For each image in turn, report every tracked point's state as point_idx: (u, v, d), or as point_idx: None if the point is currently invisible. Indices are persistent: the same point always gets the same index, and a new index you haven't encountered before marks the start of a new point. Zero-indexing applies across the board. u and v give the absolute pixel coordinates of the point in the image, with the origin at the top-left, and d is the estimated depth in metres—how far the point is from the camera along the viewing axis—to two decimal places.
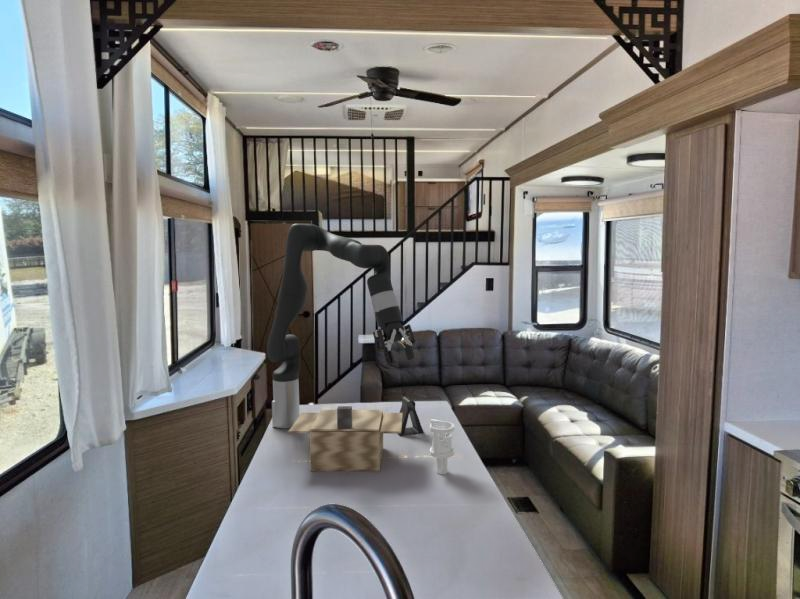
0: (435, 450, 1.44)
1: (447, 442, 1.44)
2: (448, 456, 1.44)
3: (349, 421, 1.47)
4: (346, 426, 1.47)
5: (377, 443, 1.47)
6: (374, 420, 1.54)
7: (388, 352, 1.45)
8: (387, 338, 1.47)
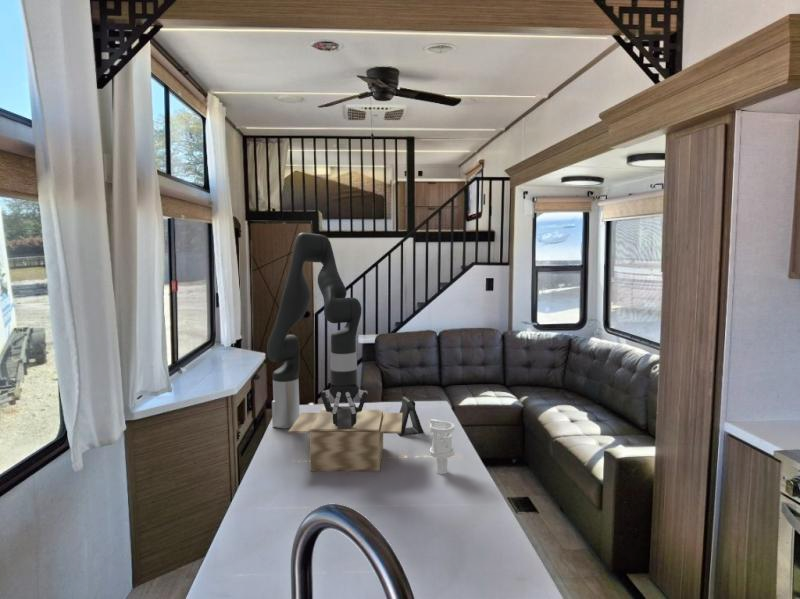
0: (435, 450, 1.44)
1: (447, 442, 1.44)
2: (449, 456, 1.44)
3: (349, 421, 1.47)
4: (346, 426, 1.47)
5: (377, 443, 1.47)
6: (374, 420, 1.54)
7: (334, 414, 1.47)
8: None
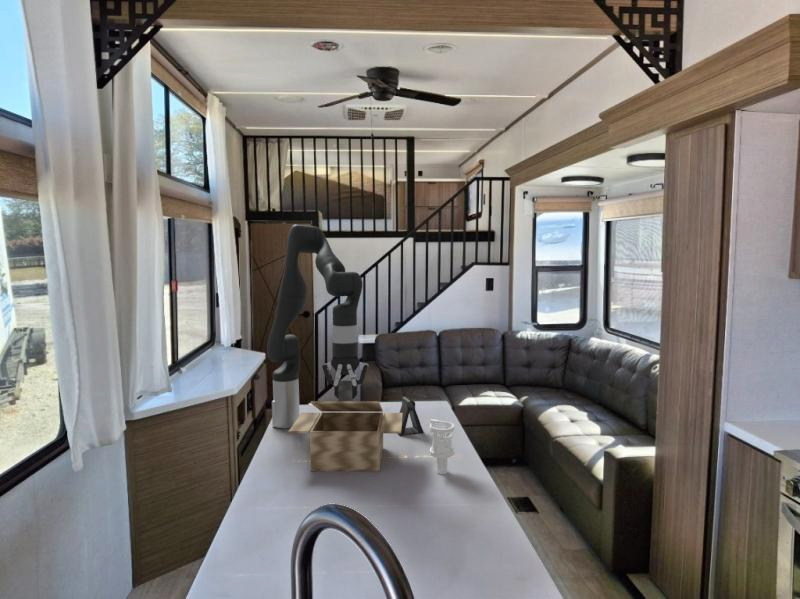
0: (435, 450, 1.44)
1: (447, 442, 1.44)
2: (449, 456, 1.44)
3: (350, 393, 1.49)
4: (347, 398, 1.48)
5: (377, 443, 1.47)
6: None
7: (335, 387, 1.50)
8: None
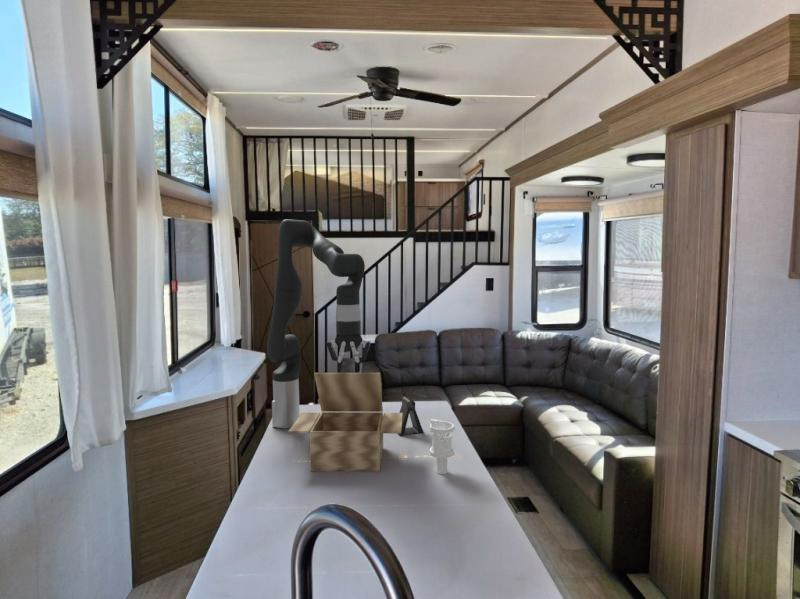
0: (435, 450, 1.44)
1: (447, 442, 1.44)
2: (449, 456, 1.44)
3: (353, 367, 1.55)
4: (349, 370, 1.54)
5: (377, 443, 1.47)
6: None
7: (339, 363, 1.57)
8: None
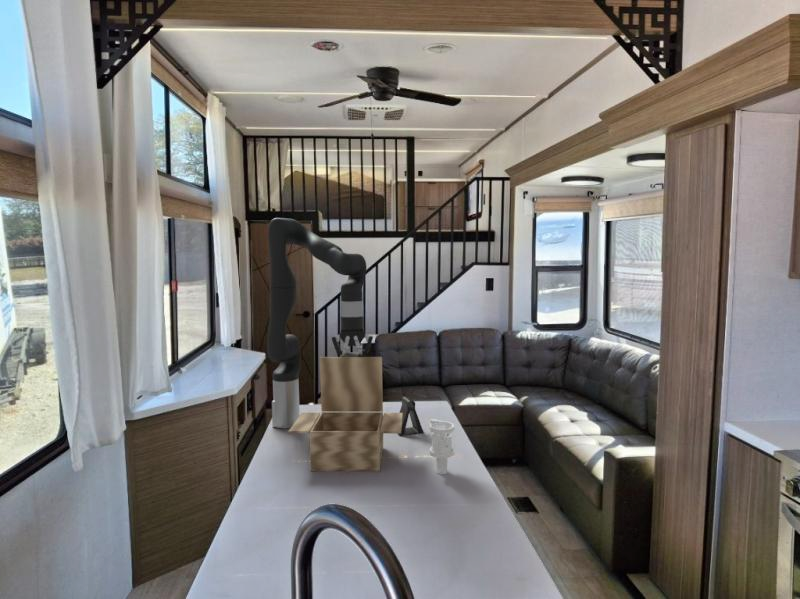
0: (435, 450, 1.44)
1: (447, 442, 1.44)
2: (448, 456, 1.44)
3: (356, 355, 1.65)
4: (353, 356, 1.63)
5: (377, 443, 1.47)
6: None
7: (343, 356, 1.67)
8: None
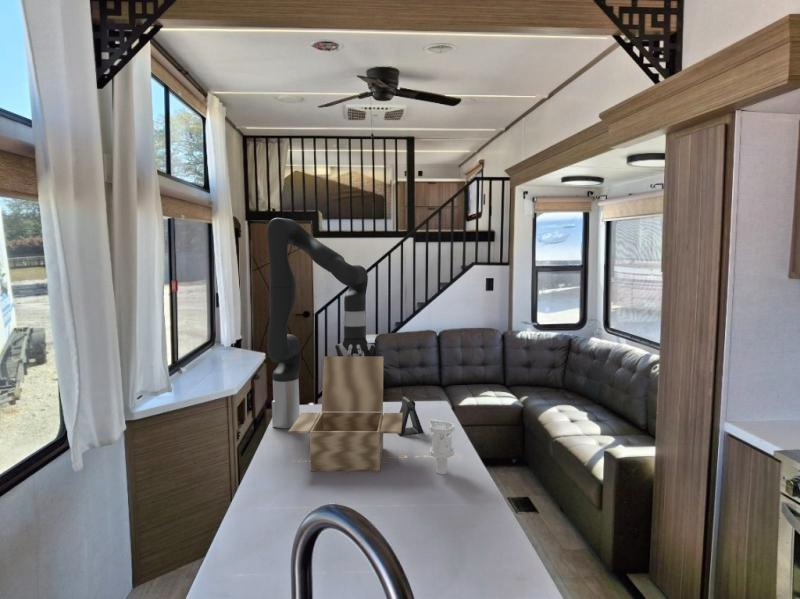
0: (435, 450, 1.44)
1: (447, 442, 1.44)
2: (448, 456, 1.44)
3: None
4: None
5: (377, 443, 1.47)
6: None
7: None
8: None
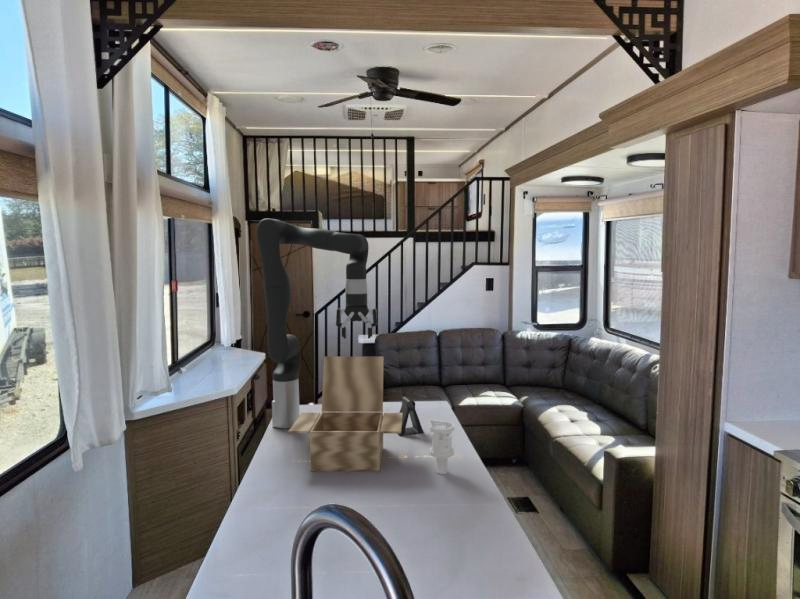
0: (435, 450, 1.44)
1: (447, 442, 1.44)
2: (448, 456, 1.44)
3: None
4: None
5: (377, 443, 1.47)
6: None
7: (342, 328, 1.78)
8: None
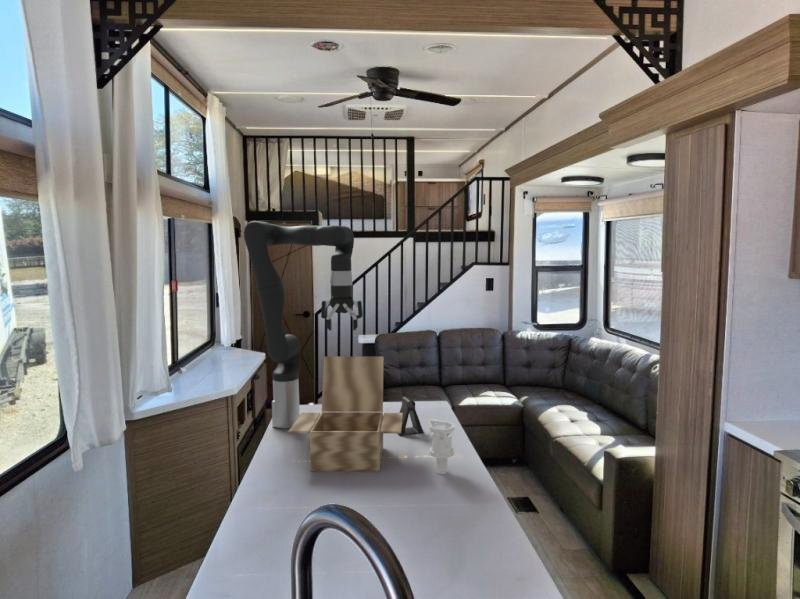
0: (435, 450, 1.44)
1: (447, 442, 1.44)
2: (448, 456, 1.44)
3: None
4: None
5: (377, 443, 1.47)
6: None
7: (327, 320, 1.78)
8: None
